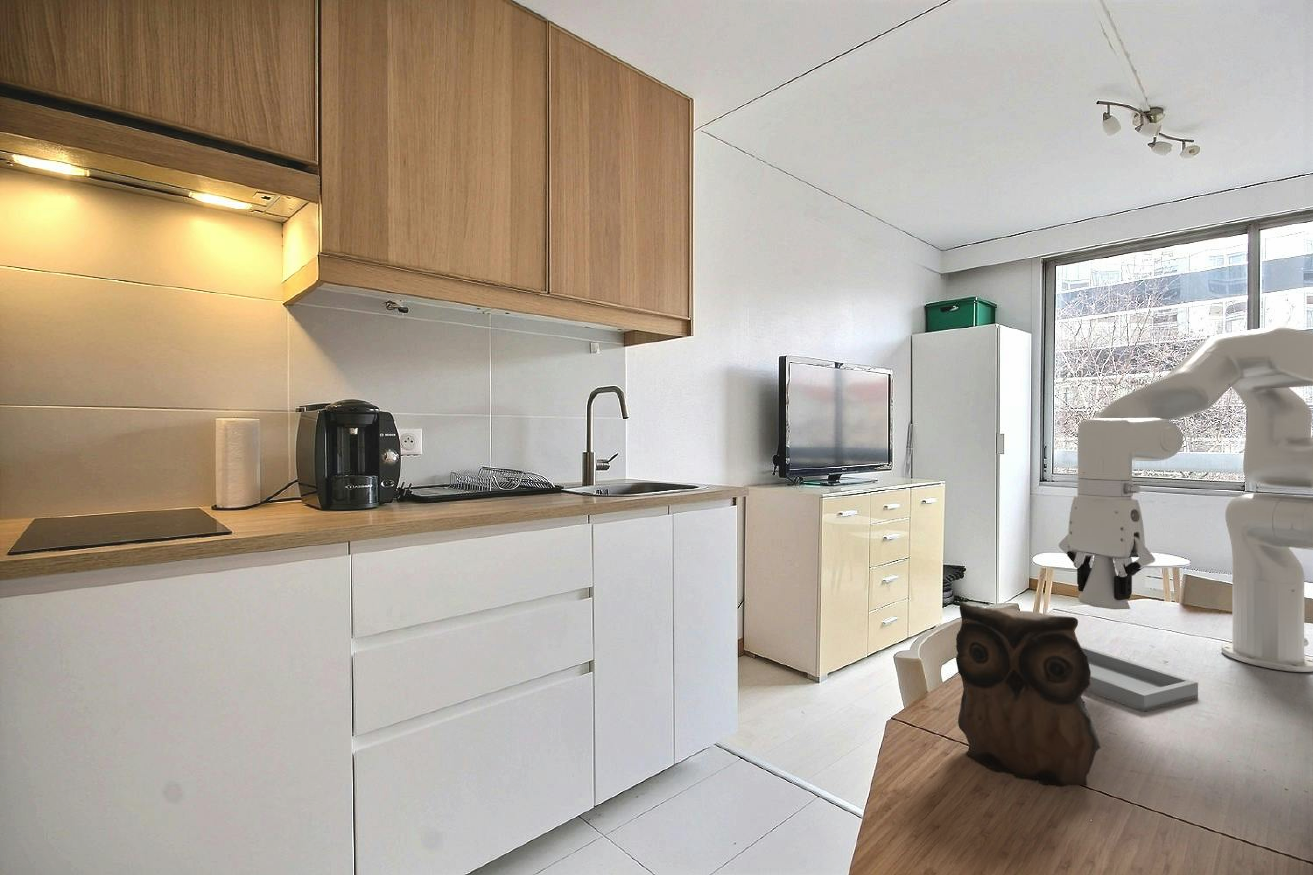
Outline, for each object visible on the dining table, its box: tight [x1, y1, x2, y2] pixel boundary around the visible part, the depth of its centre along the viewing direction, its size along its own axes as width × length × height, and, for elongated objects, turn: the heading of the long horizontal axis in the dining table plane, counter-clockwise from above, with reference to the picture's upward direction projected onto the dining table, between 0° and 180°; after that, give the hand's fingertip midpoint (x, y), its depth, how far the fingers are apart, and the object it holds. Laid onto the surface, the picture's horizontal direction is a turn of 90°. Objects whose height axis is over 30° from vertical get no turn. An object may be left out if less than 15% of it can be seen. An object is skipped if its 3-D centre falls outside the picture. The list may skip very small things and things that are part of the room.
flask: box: [1077, 555, 1131, 610], centre depth 102 cm, size 7×7×10 cm
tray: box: [1080, 645, 1199, 713], centre depth 102 cm, size 14×20×2 cm
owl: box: [955, 601, 1101, 787], centre depth 75 cm, size 13×13×20 cm
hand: (1103, 593), depth 102 cm, fingers closed on flask, 5 cm apart
